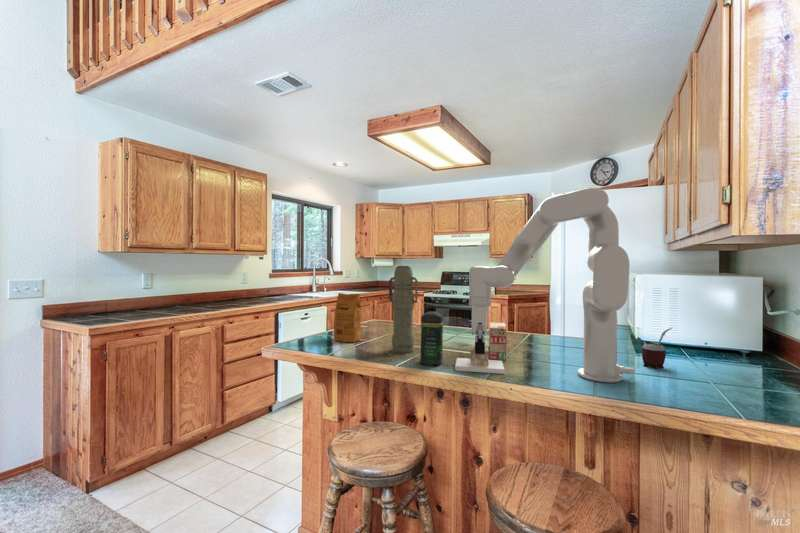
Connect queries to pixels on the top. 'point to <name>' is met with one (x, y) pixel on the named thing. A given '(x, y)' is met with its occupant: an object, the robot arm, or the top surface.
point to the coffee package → (347, 318)
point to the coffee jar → (431, 338)
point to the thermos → (403, 309)
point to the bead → (478, 357)
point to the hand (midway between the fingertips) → (479, 350)
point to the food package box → (497, 341)
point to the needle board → (492, 367)
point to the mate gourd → (654, 354)
